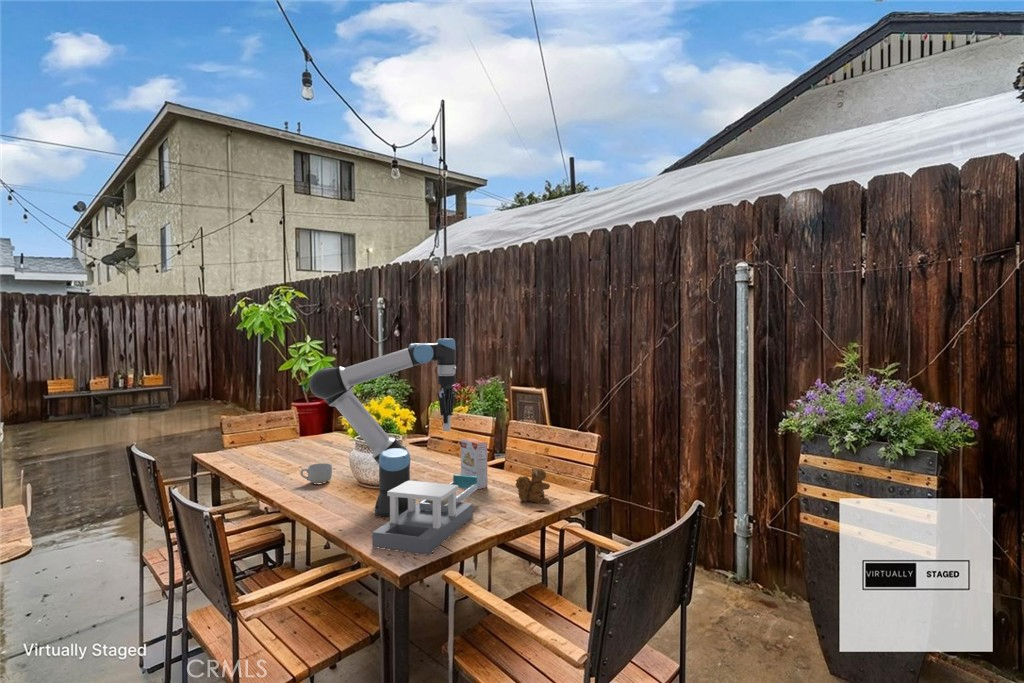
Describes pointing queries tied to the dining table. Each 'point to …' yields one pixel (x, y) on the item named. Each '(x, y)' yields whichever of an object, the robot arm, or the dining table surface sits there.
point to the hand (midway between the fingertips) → (446, 430)
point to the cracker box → (474, 460)
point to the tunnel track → (421, 518)
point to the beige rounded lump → (441, 501)
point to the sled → (462, 482)
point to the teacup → (318, 472)
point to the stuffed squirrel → (533, 487)
